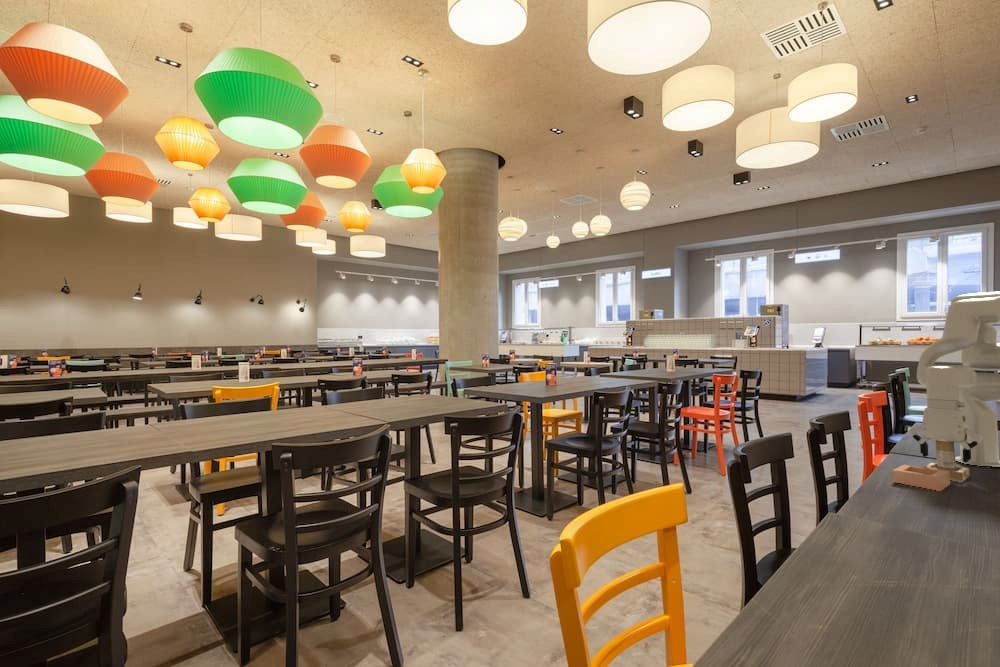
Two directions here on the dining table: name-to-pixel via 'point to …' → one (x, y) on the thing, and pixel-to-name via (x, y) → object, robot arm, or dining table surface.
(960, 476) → the wooden collar
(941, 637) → the dining table surface
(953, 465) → the sprinkles bottle
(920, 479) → the terracotta socket
